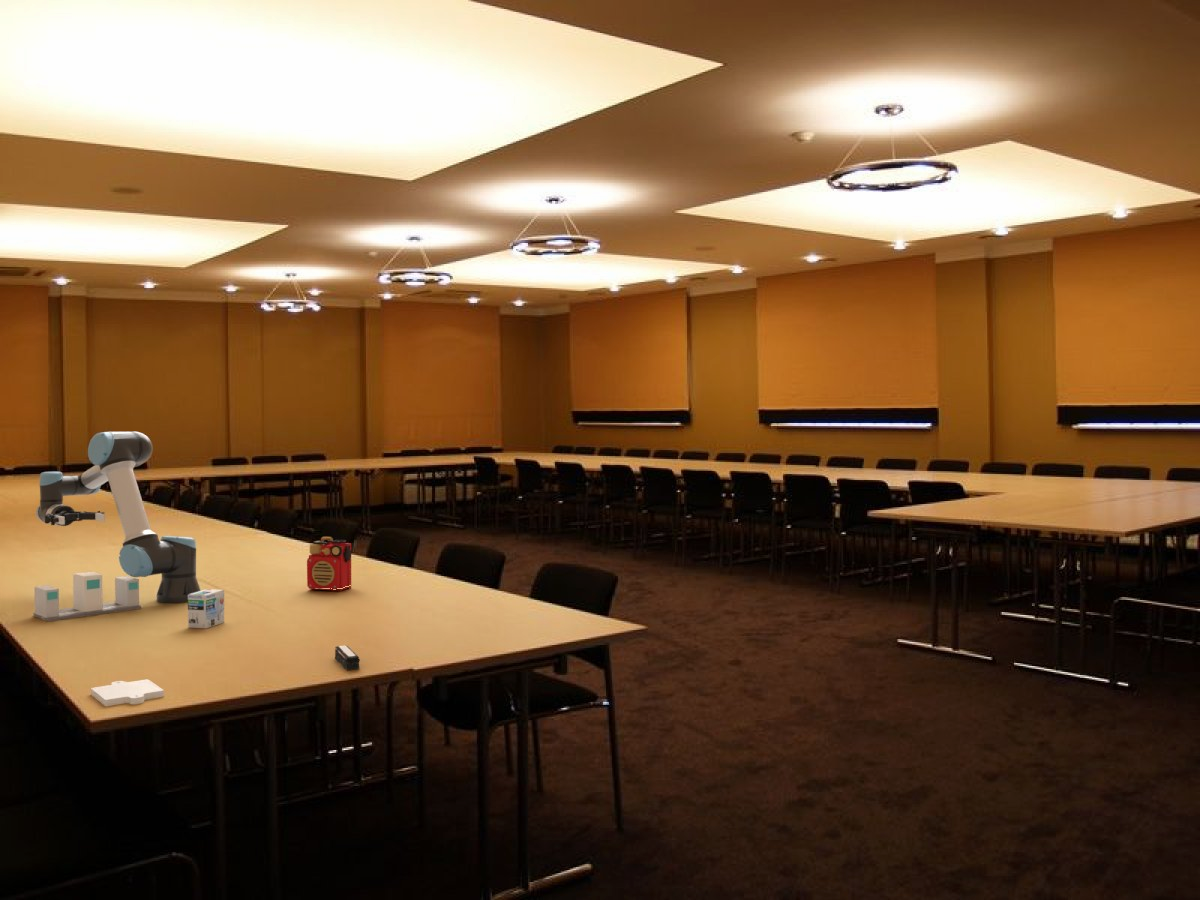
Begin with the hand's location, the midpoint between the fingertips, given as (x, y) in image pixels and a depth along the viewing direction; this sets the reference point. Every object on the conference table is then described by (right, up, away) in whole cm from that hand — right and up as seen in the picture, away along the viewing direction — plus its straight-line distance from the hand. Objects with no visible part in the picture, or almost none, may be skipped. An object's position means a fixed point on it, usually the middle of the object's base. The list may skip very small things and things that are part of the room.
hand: (83, 519), depth 355 cm
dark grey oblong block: (+115, -34, -81) cm, 145 cm away
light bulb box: (+57, -32, -35) cm, 74 cm away
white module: (+9, -30, -15) cm, 35 cm away
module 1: (+1, -30, -25) cm, 39 cm away
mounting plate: (+70, -35, -115) cm, 139 cm away
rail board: (+9, -31, -15) cm, 35 cm away
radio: (+79, -30, +31) cm, 90 cm away
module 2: (+18, -30, -6) cm, 36 cm away
